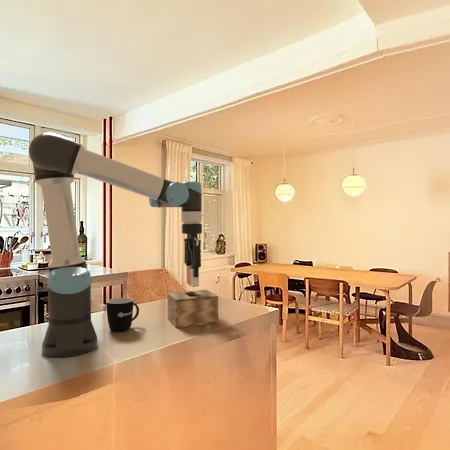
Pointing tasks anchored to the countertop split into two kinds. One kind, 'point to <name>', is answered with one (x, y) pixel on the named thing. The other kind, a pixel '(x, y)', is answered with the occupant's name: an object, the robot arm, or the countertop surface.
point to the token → (189, 277)
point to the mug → (120, 314)
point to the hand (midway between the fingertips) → (192, 284)
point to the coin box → (192, 308)
